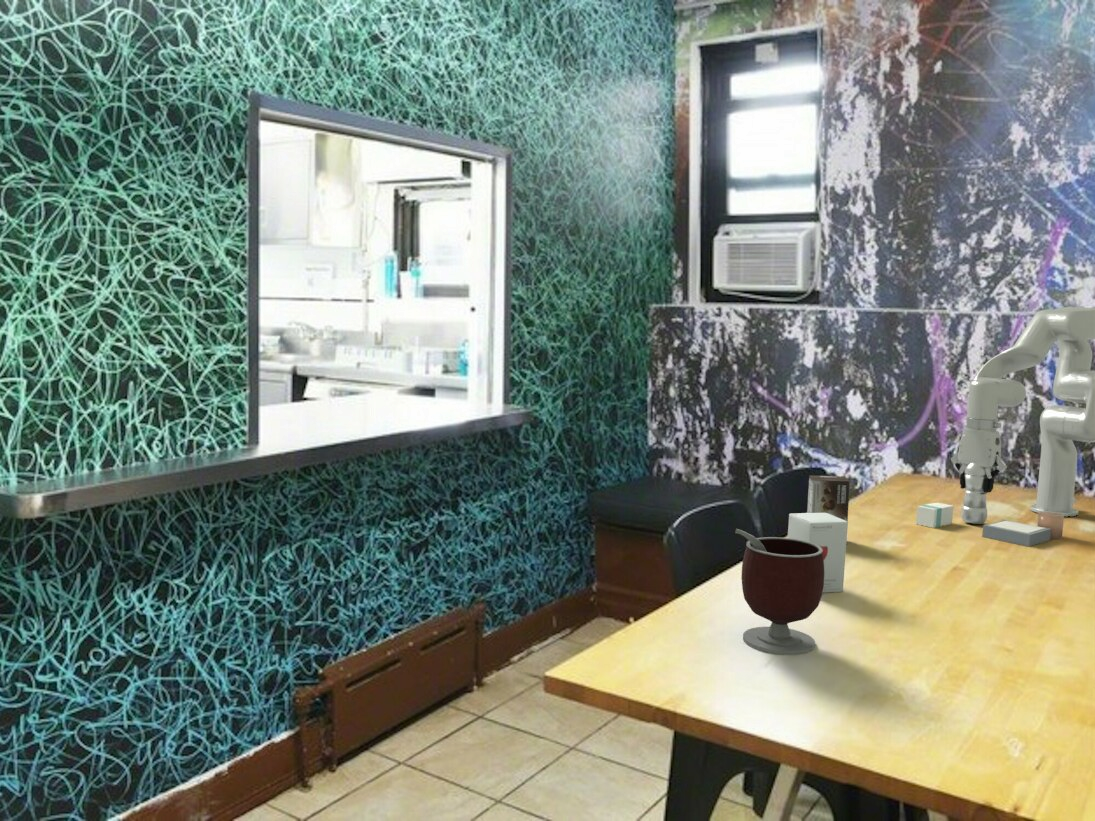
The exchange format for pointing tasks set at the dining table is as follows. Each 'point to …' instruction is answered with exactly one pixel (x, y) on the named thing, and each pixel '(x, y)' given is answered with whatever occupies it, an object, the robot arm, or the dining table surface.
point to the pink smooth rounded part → (1052, 523)
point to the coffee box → (829, 495)
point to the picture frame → (1016, 532)
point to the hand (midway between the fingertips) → (976, 489)
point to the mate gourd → (781, 590)
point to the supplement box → (823, 543)
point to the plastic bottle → (974, 495)
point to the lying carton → (934, 514)
